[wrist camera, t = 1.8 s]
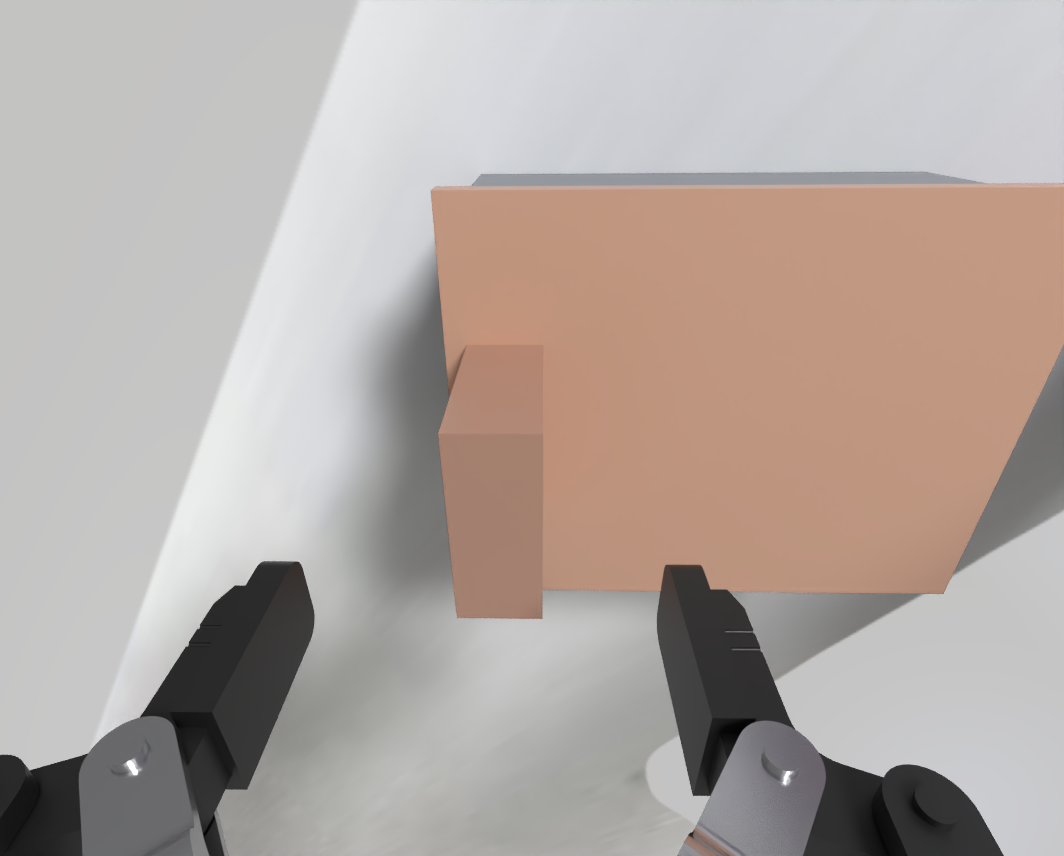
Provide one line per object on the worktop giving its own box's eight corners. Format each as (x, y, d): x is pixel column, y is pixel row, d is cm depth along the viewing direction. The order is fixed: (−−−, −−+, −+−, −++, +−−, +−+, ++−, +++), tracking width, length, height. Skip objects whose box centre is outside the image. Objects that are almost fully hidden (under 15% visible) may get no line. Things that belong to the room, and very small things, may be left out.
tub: (924, 171, 23) (1087, 201, 16) (836, 461, 30) (923, 569, 23) (481, 174, 24) (454, 204, 17) (494, 460, 30) (479, 565, 24)
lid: (1071, 176, 17) (1411, 225, 10) (911, 554, 25) (1049, 725, 18) (443, 180, 18) (380, 229, 11) (472, 550, 25) (445, 716, 18)
